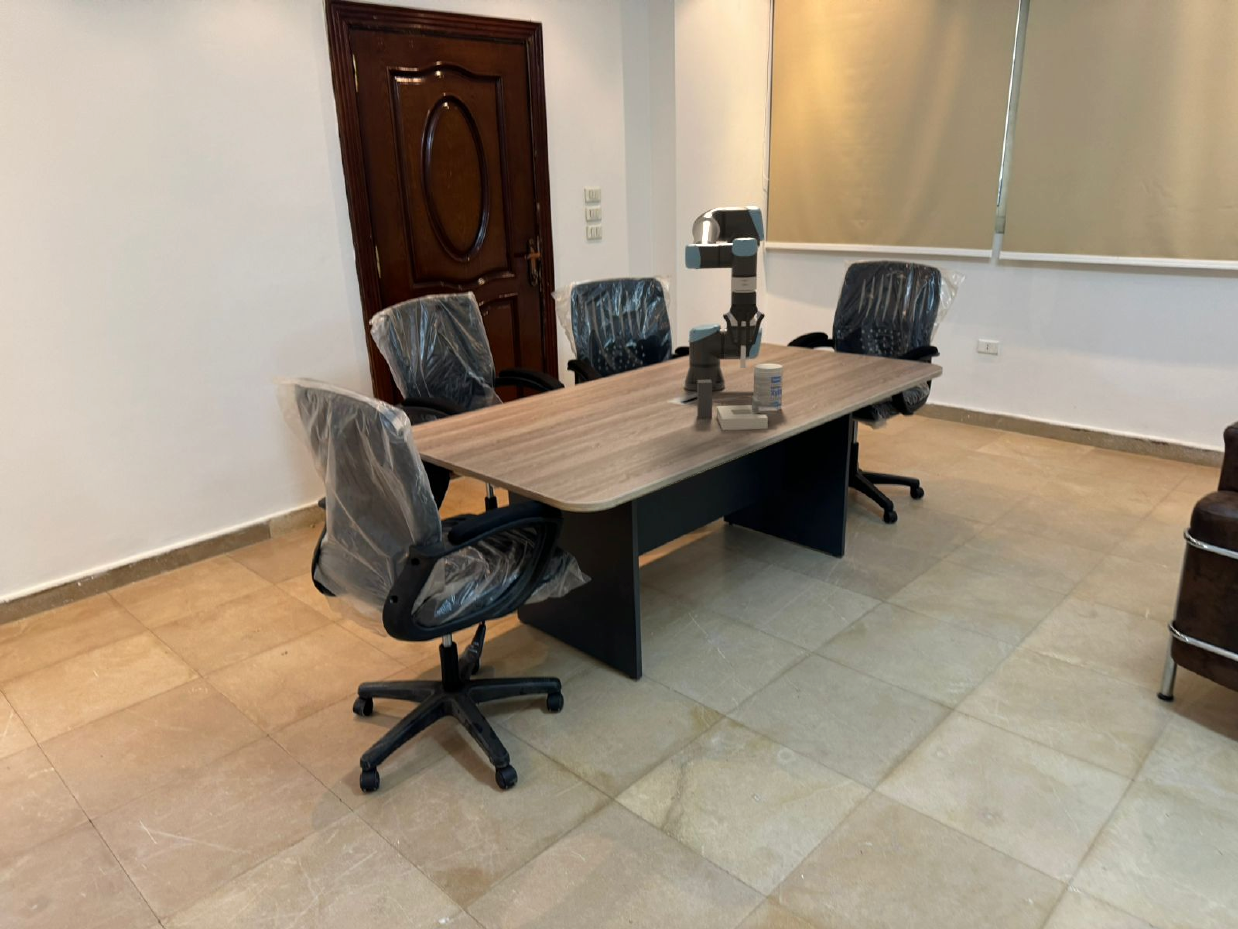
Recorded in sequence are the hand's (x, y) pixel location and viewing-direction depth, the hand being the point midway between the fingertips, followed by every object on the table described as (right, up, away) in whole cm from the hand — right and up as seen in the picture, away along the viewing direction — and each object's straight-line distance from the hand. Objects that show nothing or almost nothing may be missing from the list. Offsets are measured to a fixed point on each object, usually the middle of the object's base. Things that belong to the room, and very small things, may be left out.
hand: (742, 366), depth 255 cm
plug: (-11, -15, +13) cm, 22 cm away
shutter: (+7, -13, +4) cm, 16 cm away
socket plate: (0, -17, +5) cm, 18 cm away
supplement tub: (+11, -12, +20) cm, 26 cm away
